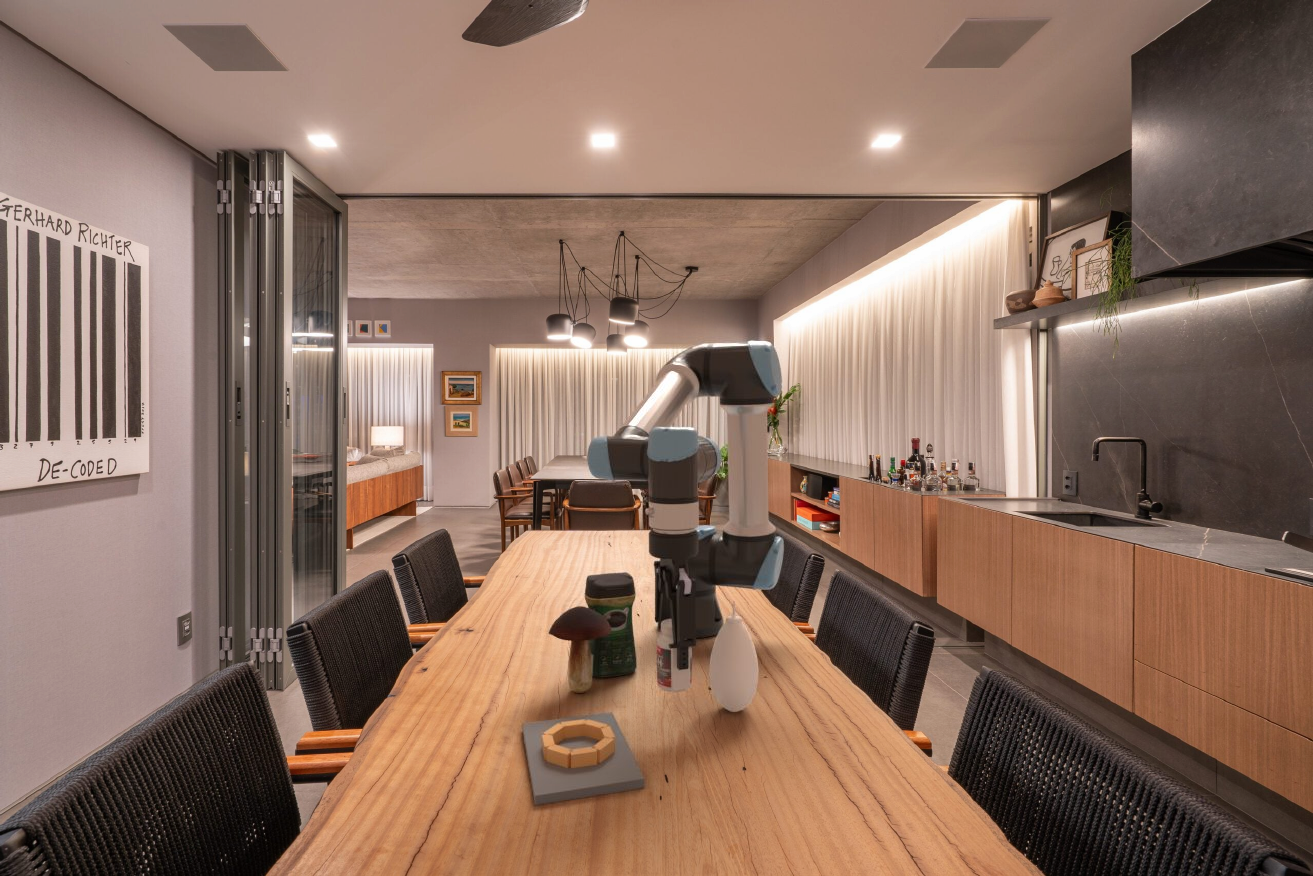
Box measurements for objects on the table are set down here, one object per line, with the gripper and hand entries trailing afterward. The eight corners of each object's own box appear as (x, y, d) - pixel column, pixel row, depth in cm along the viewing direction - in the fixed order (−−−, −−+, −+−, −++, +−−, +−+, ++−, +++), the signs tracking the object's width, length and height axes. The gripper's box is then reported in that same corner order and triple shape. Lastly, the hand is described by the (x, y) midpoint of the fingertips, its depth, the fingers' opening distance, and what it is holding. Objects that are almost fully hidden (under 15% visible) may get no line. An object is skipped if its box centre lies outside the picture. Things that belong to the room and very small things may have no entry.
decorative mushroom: (542, 685, 116) (542, 602, 116) (600, 675, 121) (600, 595, 120) (558, 710, 106) (557, 619, 106) (620, 698, 111) (620, 611, 110)
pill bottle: (649, 686, 98) (649, 623, 98) (671, 675, 102) (671, 614, 102) (677, 696, 95) (677, 631, 94) (699, 684, 99) (698, 621, 99)
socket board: (612, 719, 103) (612, 701, 103) (644, 787, 84) (644, 764, 84) (522, 731, 99) (522, 711, 99) (534, 805, 80) (534, 781, 80)
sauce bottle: (727, 724, 101) (727, 610, 101) (700, 705, 108) (701, 598, 108) (767, 714, 105) (768, 603, 104) (739, 696, 112) (740, 592, 111)
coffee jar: (629, 660, 128) (629, 567, 128) (640, 675, 121) (640, 576, 121) (581, 666, 125) (580, 571, 125) (589, 681, 118) (589, 580, 118)
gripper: (634, 520, 105) (635, 660, 106) (667, 542, 88) (668, 710, 89) (678, 518, 108) (679, 655, 109) (719, 539, 90) (719, 703, 91)
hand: (674, 680), depth 99 cm, fingers closed on pill bottle, 5 cm apart
